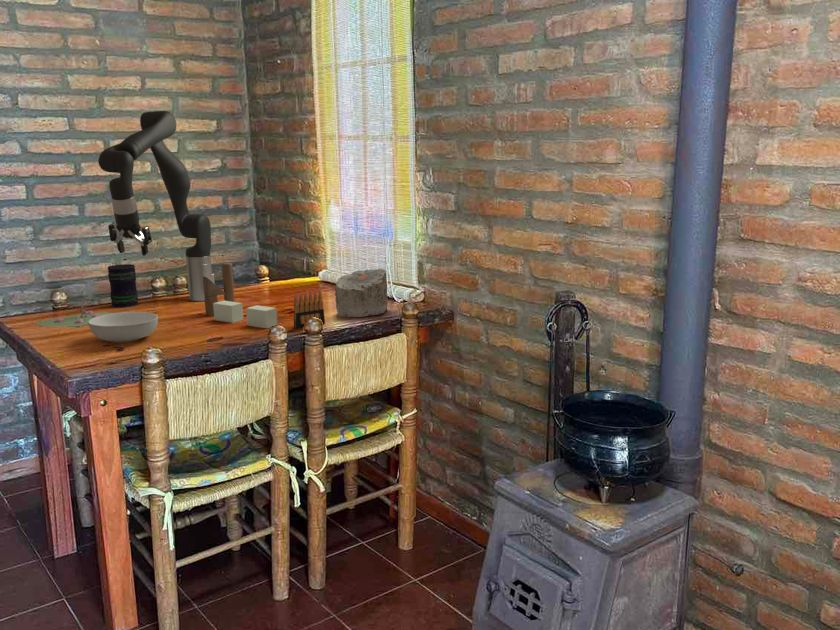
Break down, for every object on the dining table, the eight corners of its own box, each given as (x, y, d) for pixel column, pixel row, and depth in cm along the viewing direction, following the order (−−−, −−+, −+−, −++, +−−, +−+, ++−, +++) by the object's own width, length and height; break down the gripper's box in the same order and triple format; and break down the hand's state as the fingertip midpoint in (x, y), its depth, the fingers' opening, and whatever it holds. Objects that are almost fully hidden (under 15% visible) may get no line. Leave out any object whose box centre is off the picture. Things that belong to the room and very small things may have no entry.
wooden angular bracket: (205, 314, 286) (201, 265, 282) (233, 310, 293) (229, 262, 288) (209, 316, 283) (205, 266, 279) (237, 312, 290) (234, 263, 286)
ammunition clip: (322, 322, 272) (321, 288, 269) (325, 323, 270) (323, 289, 267) (293, 327, 266) (291, 292, 263) (296, 328, 264) (294, 292, 262)
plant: (36, 333, 266) (33, 306, 264) (32, 320, 284) (29, 296, 282) (115, 323, 278) (112, 298, 276) (107, 312, 295) (104, 288, 293)
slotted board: (225, 317, 282) (223, 300, 281) (277, 325, 269) (276, 308, 267) (214, 319, 278) (213, 303, 277) (266, 328, 265) (265, 310, 263)
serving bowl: (159, 344, 248) (157, 322, 246) (87, 350, 242) (84, 328, 240) (160, 328, 267) (158, 308, 266) (93, 334, 261) (91, 313, 260)
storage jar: (106, 305, 304) (100, 259, 300) (128, 301, 312) (123, 255, 307) (122, 308, 298) (117, 261, 294) (144, 303, 306) (139, 257, 302)
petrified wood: (335, 319, 276) (333, 276, 273) (336, 308, 293) (334, 268, 290) (389, 317, 278) (388, 275, 274) (387, 306, 295) (386, 266, 291)
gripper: (150, 207, 266) (158, 251, 274) (112, 203, 269) (120, 247, 277) (138, 215, 260) (147, 260, 268) (99, 211, 263) (108, 256, 271)
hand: (133, 253), depth 273 cm, fingers open, 8 cm apart
